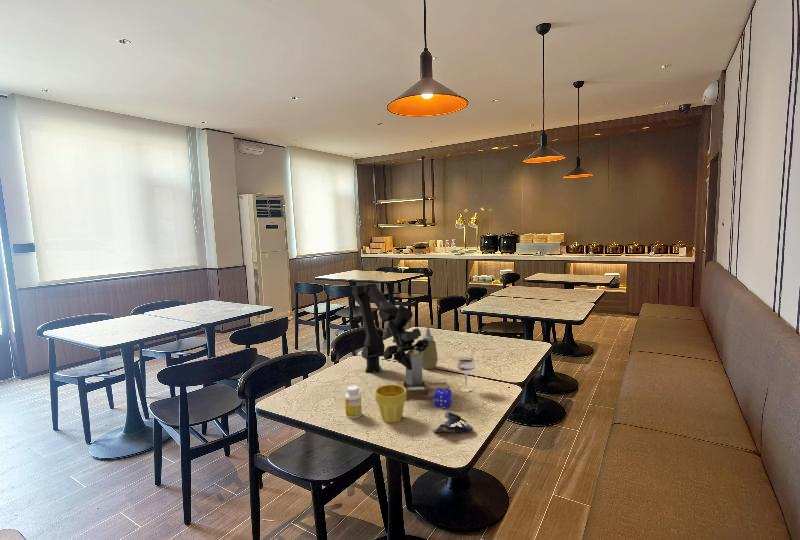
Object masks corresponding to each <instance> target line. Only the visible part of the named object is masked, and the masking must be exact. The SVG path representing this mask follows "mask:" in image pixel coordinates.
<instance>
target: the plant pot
mask: <svg viewBox="0 0 800 540" xmlns="http://www.w3.org/2000/svg"><path fill="white" fill-rule="evenodd" d="M374 397H375V402H376V403H377V405H378V408H379V412H380V416H381V417H380V418H381V420H382V421H383V422H385V423H397V422H399V421H401V420H402V418H403V413H404V407H405V403H406V401H407V400H406V399H407V391H406V388H405V387H403V386H400V385H397V384H385V385H381V386H379V387H377V388H376V389H375V391H374Z"/></svg>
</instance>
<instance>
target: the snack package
mask: <svg viewBox="0 0 800 540" xmlns="http://www.w3.org/2000/svg"><path fill="white" fill-rule="evenodd" d="M444 418H445V419H446V420H447V421H445V422H443V423H440V425H439V426H438V427H436V428H435V429H433V430H432V432H433V433H434V434H436V431H437V432H440V433H453V434H454V433H459V432H464V431H469V432H473V431H474V428H473V426H472V425H470V424H468V422H467V420H465V419H463V418H462V417H461V415H458V413H457V414H456V413H454V412H451V411H446V412H445V413H444ZM460 420H462V421H464V422H466V423H467V426H465V425H464V424H462V423H461V422H460V423H461V425H462V427H459V426H457V425H456V426H455V427H450V426H451V424H454V423H457V422H459V421H460Z"/></svg>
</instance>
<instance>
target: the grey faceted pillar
mask: <svg viewBox="0 0 800 540" xmlns="http://www.w3.org/2000/svg"><path fill="white" fill-rule="evenodd" d="M405 356H406V358H407V360H408V362H409V364H410V366H411V370H409V369H407V368H406V367H405V381H406V384H408V385H410V386H411V387H415V386H419V385H422V381H423V367H422V354H421V353H419V351H417V350H410V351H407V352H405Z"/></svg>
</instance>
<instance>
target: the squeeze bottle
mask: <svg viewBox="0 0 800 540" xmlns="http://www.w3.org/2000/svg"><path fill="white" fill-rule="evenodd" d="M422 339H427V340H428V341H429V343H430V344H429V346H428V347H427V348H426V349H425V351H423V352H421V354H422V369H425V370H433V369H435V368H436V367H437V364H438V360H439V359H438V352H437V351H438V350H437V344H436V341H435V340H434V335H432V334H431V329H430V328H429V327H428V328H426V330H425V334H424V335H423V336H422Z"/></svg>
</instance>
